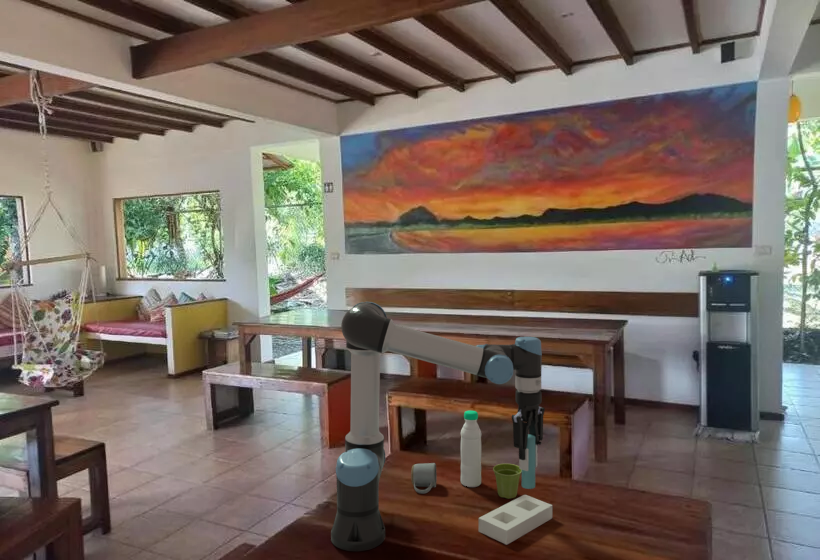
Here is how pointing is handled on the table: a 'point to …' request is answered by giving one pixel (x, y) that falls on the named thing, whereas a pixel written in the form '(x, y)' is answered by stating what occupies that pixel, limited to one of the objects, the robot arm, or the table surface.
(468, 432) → the water bottle
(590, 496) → the table surface
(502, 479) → the plant pot
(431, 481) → the ceramic mug
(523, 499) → the hole block
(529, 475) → the teal pin
